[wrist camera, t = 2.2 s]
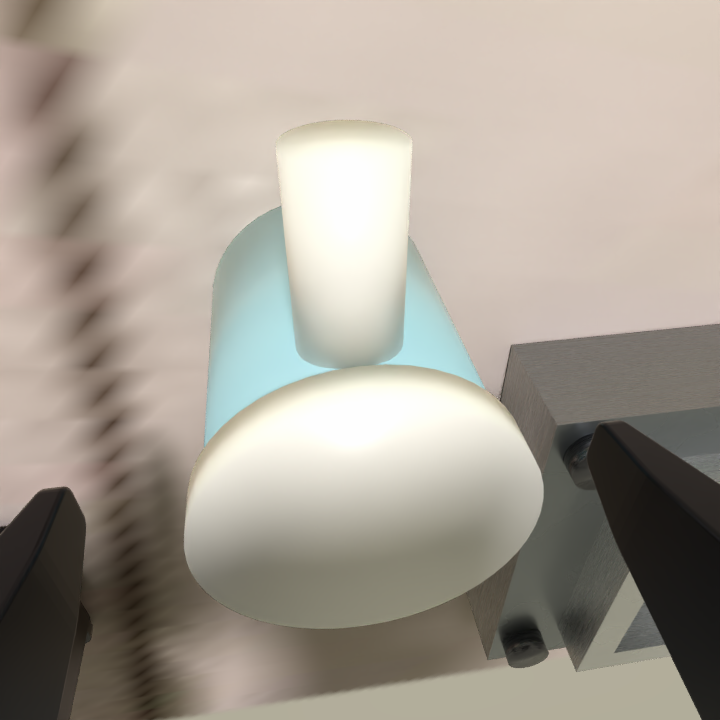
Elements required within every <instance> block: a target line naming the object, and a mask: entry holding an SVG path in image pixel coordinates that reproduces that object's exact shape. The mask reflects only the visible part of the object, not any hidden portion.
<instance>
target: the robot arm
mask: <svg viewBox="0 0 720 720" xmlns="http://www.w3.org/2000/svg"><path fill="white" fill-rule="evenodd" d="M587 464H588V468H589V471H590V473H591V476H592V479H593V482H594V484H595V487H596V490H597V493H598V496H599V498H600V501H601V504H602V507H603V510H604V512H605V515H606V518H607V521H608V523H609V526H610V529H611V532H612V534H613V537H614V539H615V542H616V544H617V546H618V548H619V551H620V553H621V555H622V557H623V559H624V561H625V563H626V565H627V567H628V569H629V571H630V573H631V575H632V577H633V580H634V582H635V584H636V586H637V588H638V590H639V592H640V594H641V596H642V598H643V600H644V602H645V604H646V606H647V608H648V610H649V612H650V614H651V616H652V618H653V621H654V623H655V625H656V627H657V629H658V631H659V633H660V635H661V637H662V639H663V641H664V643H665V645H666V647H667V649H668V651H669V653H670V655H671V657H672V660H673V662H674V664H675V666H676V668H677V670H678V672H679V674H680V676H681V678H682V680H683V682H684V684H685V686H686V688H687V690H688V692H689V694H690V696H691V699H692V701H693V702H694V705H695V707H696V708H697V711H698V713H699V715H700V717H701V719H702V720H720V484H719V483H718V482H716V481H715V480H713V479H711V478H710V477H708V476H707V475H705V474H704V473H702V472H701V471H699V470H698V469H696V468H695V467H693V466H692V465H690V464H689V463H687V462H686V461H684V460H683V459H681V458H680V457H678V456H677V455H675V454H674V453H672V452H670V451H669V450H667V449H666V448H664V447H663V446H661V445H660V444H658V443H657V442H655V441H654V440H652V439H651V438H649V437H648V436H646V435H645V434H643V433H642V432H640V431H639V430H637V429H636V428H634V427H633V426H631V425H629V424H628V423H626V422H624V421H622V420H614V421H605V422H601V423H599V424H598V425H597V426H596V428H595V431H594V434H593V437H592V440H591V442H590V445H589V448H588V451H587ZM85 536H86V522H85V517H84V515H83V513H82V511H81V509H80V507H79V505H78V503H77V501H76V499H75V497H74V495H73V493H72V491H71V490H70V489H69V488H68V487H55V488H47V489H43V490H41V491H39V492H38V493H37V494H36V495H35V496H34V497H33V498H32V499H31V500H30V501H29V503H28V504H27V505H26V506H25V507H24V508H23V509H22V510H21V512H20V513H19V514H18V515H17V516H16V517H15V518H14V519H13V521H12V522H11V523H10V524H9V525H8V526H7V527H6V528H1V529H0V720H70V715H71V710H72V705H73V700H74V695H75V690H76V685H77V680H78V676H79V671H80V666H81V661H82V656H83V651H84V646H85V644H86V643H87V642H89V641H90V640H91V636H92V631H93V625H92V623H91V622H90V617H89V615H88V613H87V612H86V610H85V608H84V607H83V605H82V603H81V602H80V594H81V582H82V571H83V559H84V548H85Z"/></svg>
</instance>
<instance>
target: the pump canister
mask: <svg viewBox="0 0 720 720" xmlns="http://www.w3.org/2000/svg"><path fill="white" fill-rule="evenodd" d="M275 147H276V157H277V167H278V177H279V187H280V197H281V206H280V207H278V208H275V209H273V210H271V211H269V212H267V213H265V214H263V215H262V216H260V217H258V218H257V219H255V220H254V221H253V222H251V223H250V224H249V225H247V226H246V227H245V228H244V229H243V230H242V231H241V232H240V233H239V234H238V235H237V236H236V237H235V238H234V239H233V241H232V242H231V243H230V245H229V246H228V247H227V249H226V251H225V252H224V254H223V256H222V258H221V260H220V262H219V265H218V268H217V270H216V274H215V279H214V284H213V299H212V316H211V334H210V351H209V369H208V386H207V404H206V421H205V439H204V449H203V451H202V452H201V454H200V455H199V457H198V459H197V461H196V463H195V466H194V468H193V470H192V473H191V476H190V481H189V485H188V492H187V504H186V517H185V529H184V552H185V557H186V561H187V565H188V567H189V569H190V571H191V573H192V575H193V577H194V578H195V580H196V581H197V582H198V584H199V585H200V586H201V587H202V589H203V590H205V591H206V592H207V593H208V594H209V595H210V596H211V597H212V598H213V599H215V600H216V601H218V602H219V603H221V604H222V605H224V606H225V607H227V608H229V609H231V610H233V611H235V612H237V613H239V614H241V615H244V616H247V617H250V618H253V619H255V620H259V621H263V622H267V623H271V624H275V625H281V626H287V627H295V628H308V629H337V628H352V627H359V626H367V625H373V624H378V623H383V622H388V621H392V620H396V619H400V618H404V617H408V616H411V615H414V614H417V613H420V612H423V611H426V610H428V609H431V608H433V607H436V606H438V605H441V604H443V603H446V602H448V601H450V600H452V599H454V598H456V597H458V596H460V595H462V594H464V593H465V592H467V591H469V590H470V589H472V588H474V587H476V586H477V585H479V584H480V583H482V582H483V581H485V580H486V579H487V578H489V577H490V576H492V575H493V574H494V573H496V572H497V571H498V570H499V569H500V568H502V567H503V566H504V565H505V564H506V563H507V562H508V561H509V560H510V559H511V558H512V557H513V556H514V555H515V554H516V553H517V552H518V551H519V550H520V548H521V547H522V546H523V544H524V543H525V542H526V541H527V539H528V538H529V536H530V534H531V532H532V531H533V529H534V527H535V526H536V523H537V521H538V518H539V515H540V513H541V509H542V504H543V499H544V484H543V480H542V476H541V471H540V469H539V467H538V465H537V463H536V460H535V458H534V456H533V454H532V453H531V451H530V449H529V447H528V445H527V443H526V441H525V439H524V437H523V435H522V433H521V431H520V429H519V427H518V425H517V423H516V421H515V419H514V417H513V416H512V415H511V414H510V412H509V411H508V410H507V408H506V407H505V406H504V405H503V404H502V403H501V402H500V401H499V400H498V399H497V398H496V397H494V396H493V395H492V394H491V393H490V392H488V391H486V390H485V388H484V386H483V384H482V381H481V379H480V377H479V375H478V373H477V371H476V369H475V367H474V365H473V363H472V361H471V359H470V357H469V355H468V353H467V351H466V349H465V347H464V344H463V342H462V340H461V338H460V336H459V334H458V332H457V330H456V328H455V326H454V324H453V322H452V320H451V318H450V316H449V314H448V312H447V309H446V307H445V305H444V303H443V301H442V299H441V297H440V295H439V293H438V291H437V289H436V287H435V285H434V283H433V281H432V279H431V277H430V275H429V272H428V270H427V268H426V266H425V264H424V262H423V260H422V258H421V256H420V254H419V252H418V250H417V248H416V246H415V244H414V242H413V241H412V240H411V238H410V237H409V235H408V229H409V207H410V185H411V163H412V139H411V137H410V136H409V135H408V134H407V133H406V132H404V131H402V130H401V129H398V128H396V127H393V126H390V125H386V124H383V123H377V122H371V121H361V120H334V121H324V122H317V123H311V124H307V125H303V126H300V127H297V128H294V129H291V130H289V131H287V132H286V133H284V134H282V135H281V136H280V137H279V138H278V139H277V141H276V145H275Z"/></svg>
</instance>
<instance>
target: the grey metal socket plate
mask: <svg viewBox="0 0 720 720" xmlns="http://www.w3.org/2000/svg"><path fill="white" fill-rule="evenodd" d="M500 402H501V403H502V404H503V405H504V406H505V407H506V408H507V410H508V411H509V412H510V414H511V415H512V416H513V417H514V419H515V421H516V423H517V425H518V427H519V429H520V431H521V433H522V435H523V437H524V439H525V441H526V443H527V445H528V447H529V449H530V451H531V453H532V454H533V456H534V458H535V460H536V463H537V465H538V467H539V469H540V471H541V476H542V480H543V484H544V499H543V504H542V509H541V513H540V515H539V518H538V521H537V523H536V526H535V527H534V529H533V531H532V532H531V534H530V536H529V538H528V539H527V541H526V542H525V543H524V544H523V546H522V547H521V548H520V550H519V551H518V552H517V553H516V554H515V555H514V556H513V557H512V558H511V559H510V560H509V561H508V562H507V563H506V564H505V565H504V566H503V567H502V568H500V569H499V570H498V571H497V572H496V573H494V574H493V575H492V576H490V577H489V578H487V579H486V580H485V581H483V582H482V583H480V584H479V585H477V586H476V587H474V588H472V589H470V590H469V591H467V595H468V599H469V602H470V605H471V608H472V612H473V615H474V618H475V621H476V624H477V628H478V631H479V634H480V637H481V641H482V644H483V647H484V650H485V653H486V657H487V660H491V659H497V658H503V657H507V660H508V663H509V665H510V666H511V667H514V668H525V667H530V666H533V665H536V664H538V663H540V662H542V661H543V660H545V659H546V658H547V656H548V654H549V653H548V650H552V649H558V648H564V647H566V648H567V651H568V653H569V656H570V658H571V660H572V663H573V665H574V667H575V670H576V672H580V671H586V670H592V669H597V668H603V667H609V666H614V665H621V664H627V663H633V662H639V661H644V660H650V659H657V658H662V657H668V656H671V655H670V653H669V651H668V649H667V647H666V645H665V643H664V641H663V639H662V637H661V635H660V633H659V631H658V629H657V627H656V625H655V623H654V621H653V618H652V616H651V614H650V612H649V610H648V608H647V606H646V604H645V602H644V600H643V598H642V596H641V594H640V592H639V590H638V588H637V586H636V584H635V582H634V580H633V577H632V575H631V573H630V571H629V569H628V567H627V565H626V563H625V561H624V559H623V557H622V555H621V553H620V551H619V548H618V546H617V544H616V542H615V539H614V537H613V534H612V532H611V529H610V526H609V523H608V521H607V518H606V515H605V512H604V510H603V507H602V504H601V501H600V498H599V496H598V493H597V490H596V487H595V484H594V482H593V479H592V476H591V473H590V471H589V468H588V464H587V451H588V448H589V445H590V442H591V440H592V437H593V434H594V431H595V428H596V426H597V425H598V424H599V423H601V422H605V421H614V420H622V421H624V422H626V423H628V424H629V425H631V426H633V427H634V428H636V429H637V430H639V431H640V432H642V433H643V434H645V435H646V436H648V437H649V438H651V439H652V440H654V441H655V442H657V443H658V444H660V445H661V446H663V447H664V448H666V449H667V450H669V451H670V452H672V453H674V454H675V455H677V456H678V457H680V458H681V459H683V460H684V461H686V462H687V463H689V464H690V465H692V466H693V467H695V468H696V469H698V470H699V471H701V472H702V473H704V474H705V475H707V476H708V477H710V478H711V479H713V480H715V481H716V482H718V483H719V484H720V324H715V325H705V326H695V327H685V328H675V329H666V330H656V331H646V332H636V333H626V334H616V335H606V336H596V337H587V338H577V339H567V340H557V341H547V342H537V343H527V344H517V345H512V347H511V352H510V357H509V362H508V367H507V372H506V377H505V382H504V387H503V391H502V396H501V401H500Z"/></svg>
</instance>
